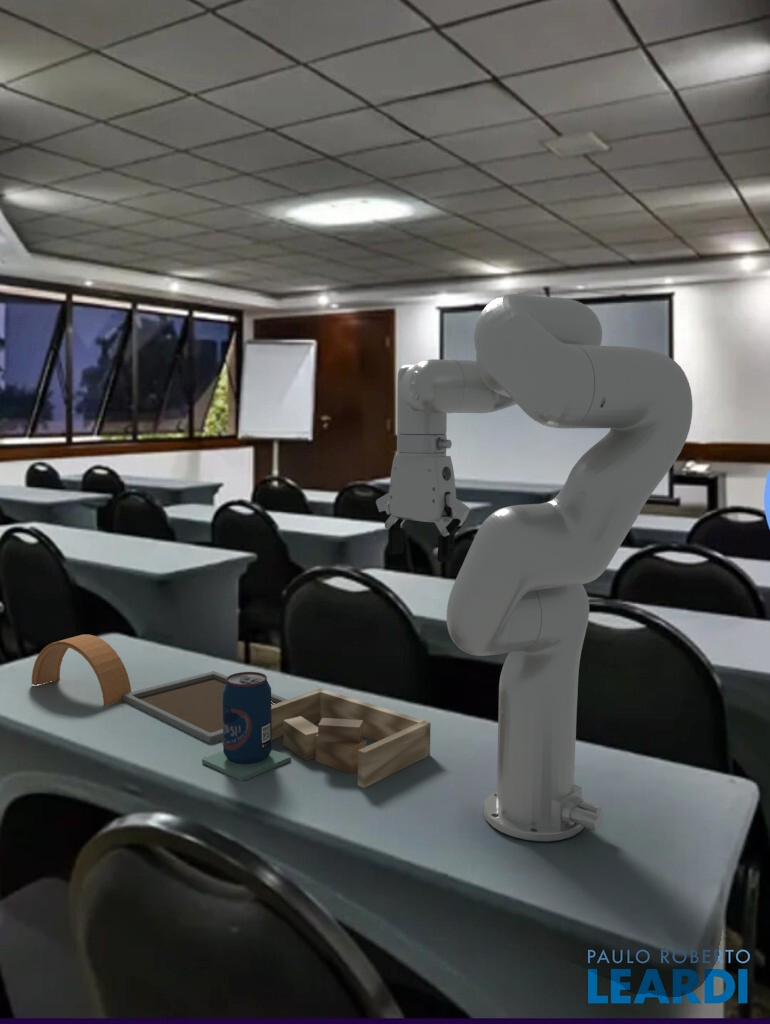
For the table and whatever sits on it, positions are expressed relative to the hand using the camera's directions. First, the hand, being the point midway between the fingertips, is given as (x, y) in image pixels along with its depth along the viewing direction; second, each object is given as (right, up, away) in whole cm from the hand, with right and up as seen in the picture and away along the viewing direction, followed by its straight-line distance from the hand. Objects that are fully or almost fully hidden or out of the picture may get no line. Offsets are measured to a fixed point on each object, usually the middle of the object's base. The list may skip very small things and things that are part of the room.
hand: (420, 557), depth 127 cm
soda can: (-25, -29, -8) cm, 39 cm away
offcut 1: (-18, -29, -3) cm, 34 cm away
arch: (-61, -26, +22) cm, 70 cm away
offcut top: (-12, -26, -9) cm, 30 cm away
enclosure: (-12, -29, -3) cm, 31 cm away
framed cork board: (-34, -27, +14) cm, 46 cm away
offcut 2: (-12, -30, -8) cm, 33 cm away
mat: (-26, -29, -8) cm, 40 cm away
